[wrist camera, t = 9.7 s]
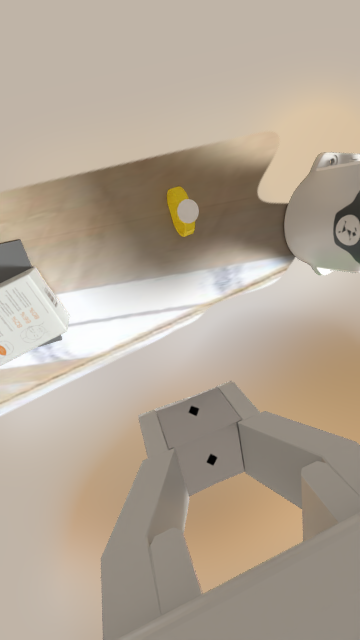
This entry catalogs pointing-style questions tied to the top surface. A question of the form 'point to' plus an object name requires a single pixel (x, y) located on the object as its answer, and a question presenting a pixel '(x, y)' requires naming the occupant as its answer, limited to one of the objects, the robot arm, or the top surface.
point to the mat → (15, 265)
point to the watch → (182, 211)
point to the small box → (28, 314)
